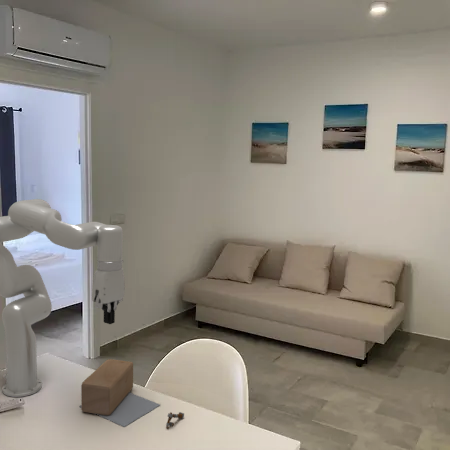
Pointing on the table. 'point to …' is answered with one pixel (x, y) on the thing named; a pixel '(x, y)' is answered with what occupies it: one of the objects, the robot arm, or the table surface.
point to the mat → (130, 410)
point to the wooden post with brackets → (173, 417)
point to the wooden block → (107, 387)
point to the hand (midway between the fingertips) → (109, 322)
